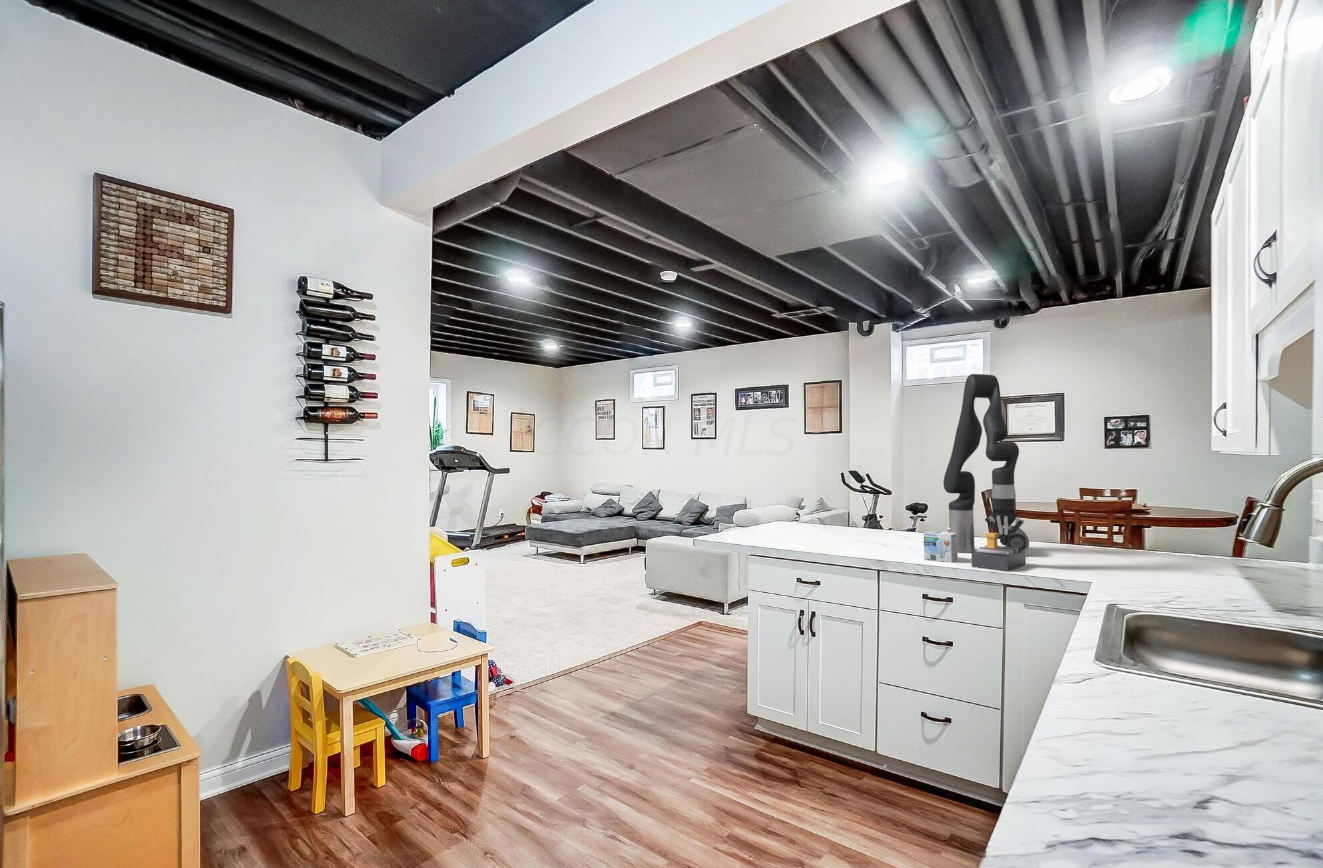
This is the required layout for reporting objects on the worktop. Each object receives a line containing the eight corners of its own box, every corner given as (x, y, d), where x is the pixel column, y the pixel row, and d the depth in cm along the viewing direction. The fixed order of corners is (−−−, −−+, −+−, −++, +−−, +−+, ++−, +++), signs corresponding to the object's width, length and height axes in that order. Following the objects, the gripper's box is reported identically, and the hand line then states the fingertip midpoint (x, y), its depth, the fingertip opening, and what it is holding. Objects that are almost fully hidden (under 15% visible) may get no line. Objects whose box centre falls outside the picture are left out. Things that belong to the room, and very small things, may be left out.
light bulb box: (923, 559, 236) (922, 532, 237) (929, 557, 241) (928, 530, 242) (952, 563, 229) (951, 534, 229) (958, 560, 234) (957, 532, 234)
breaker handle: (985, 550, 223) (985, 533, 224) (990, 549, 226) (989, 532, 226) (995, 551, 221) (994, 534, 221) (999, 550, 224) (998, 533, 224)
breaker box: (971, 566, 221) (971, 548, 221) (990, 560, 232) (990, 543, 232) (1007, 571, 212) (1007, 552, 212) (1025, 564, 223) (1025, 547, 223)
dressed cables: (976, 552, 222) (976, 548, 222) (990, 548, 230) (990, 544, 230) (1008, 556, 214) (1008, 552, 214) (1022, 551, 222) (1021, 547, 222)
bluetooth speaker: (1000, 547, 262) (999, 524, 263) (1025, 548, 258) (1024, 524, 259) (1003, 555, 242) (1002, 530, 242) (1031, 557, 238) (1030, 531, 238)
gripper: (980, 496, 223) (981, 544, 223) (1019, 498, 213) (1021, 548, 213) (988, 495, 228) (989, 541, 228) (1027, 497, 218) (1029, 545, 218)
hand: (1005, 544), depth 220 cm, fingers closed
